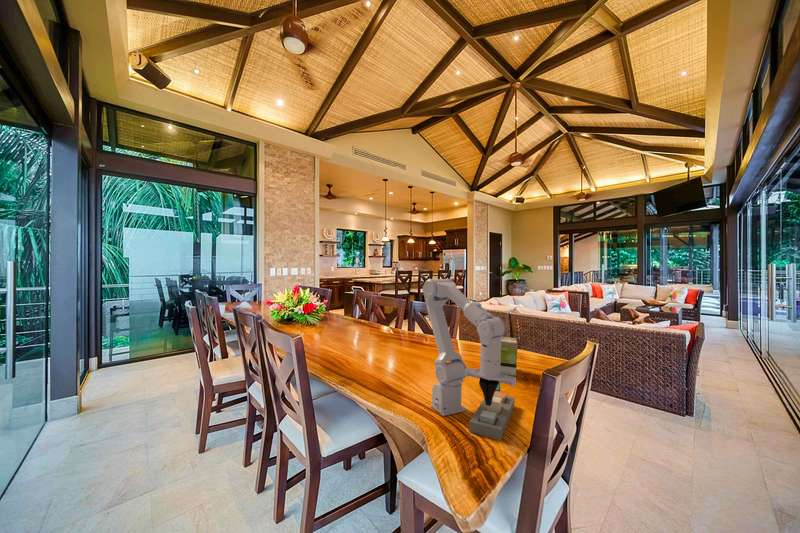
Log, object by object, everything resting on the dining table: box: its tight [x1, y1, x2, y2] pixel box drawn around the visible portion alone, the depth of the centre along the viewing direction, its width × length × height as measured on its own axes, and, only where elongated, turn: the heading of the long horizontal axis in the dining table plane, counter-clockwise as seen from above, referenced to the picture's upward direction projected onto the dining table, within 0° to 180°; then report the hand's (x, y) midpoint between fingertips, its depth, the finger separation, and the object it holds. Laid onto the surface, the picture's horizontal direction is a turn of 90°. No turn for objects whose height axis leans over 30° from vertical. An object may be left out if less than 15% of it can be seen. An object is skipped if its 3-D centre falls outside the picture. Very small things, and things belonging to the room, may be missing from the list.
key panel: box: [468, 395, 516, 441], centre depth 102 cm, size 24×9×3 cm, turn 152°
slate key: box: [480, 410, 497, 426], centre depth 95 cm, size 4×4×4 cm
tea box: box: [500, 336, 518, 376], centre depth 146 cm, size 15×10×15 cm
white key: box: [486, 396, 502, 414], centre depth 102 cm, size 4×4×4 cm
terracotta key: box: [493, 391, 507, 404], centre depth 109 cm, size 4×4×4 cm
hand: (488, 404), depth 95 cm, fingers closed
